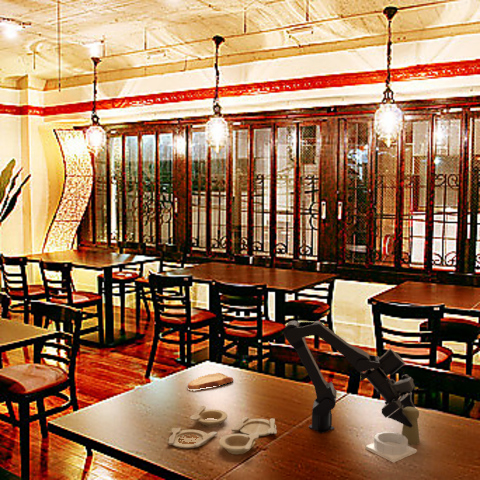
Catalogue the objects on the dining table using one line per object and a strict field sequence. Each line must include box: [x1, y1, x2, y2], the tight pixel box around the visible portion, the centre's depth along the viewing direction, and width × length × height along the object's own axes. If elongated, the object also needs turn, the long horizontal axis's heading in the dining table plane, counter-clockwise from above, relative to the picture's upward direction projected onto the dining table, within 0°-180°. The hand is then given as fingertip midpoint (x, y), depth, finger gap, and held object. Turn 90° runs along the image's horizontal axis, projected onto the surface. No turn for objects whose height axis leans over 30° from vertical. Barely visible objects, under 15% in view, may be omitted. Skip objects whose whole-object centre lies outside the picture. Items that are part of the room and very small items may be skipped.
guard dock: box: [365, 431, 417, 464], centre depth 177 cm, size 11×11×4 cm
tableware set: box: [167, 405, 278, 455], centre depth 189 cm, size 35×29×4 cm
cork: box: [401, 407, 421, 446], centre depth 184 cm, size 6×6×11 cm
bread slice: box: [187, 372, 234, 389], centre depth 238 cm, size 18×18×4 cm
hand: (414, 421), depth 183 cm, fingers open, 9 cm apart
